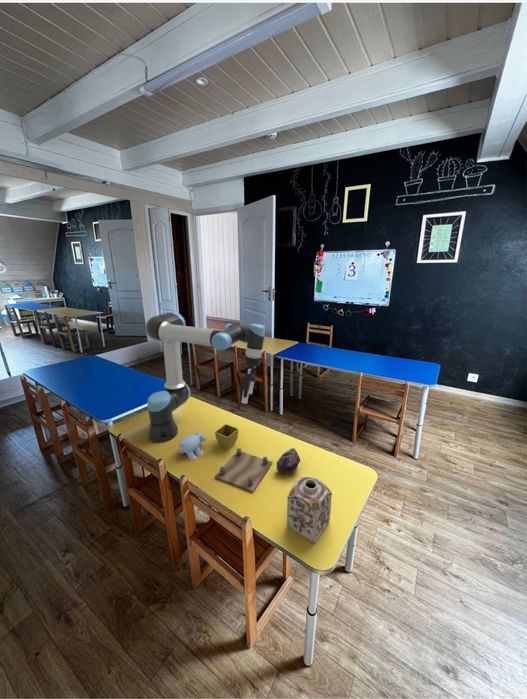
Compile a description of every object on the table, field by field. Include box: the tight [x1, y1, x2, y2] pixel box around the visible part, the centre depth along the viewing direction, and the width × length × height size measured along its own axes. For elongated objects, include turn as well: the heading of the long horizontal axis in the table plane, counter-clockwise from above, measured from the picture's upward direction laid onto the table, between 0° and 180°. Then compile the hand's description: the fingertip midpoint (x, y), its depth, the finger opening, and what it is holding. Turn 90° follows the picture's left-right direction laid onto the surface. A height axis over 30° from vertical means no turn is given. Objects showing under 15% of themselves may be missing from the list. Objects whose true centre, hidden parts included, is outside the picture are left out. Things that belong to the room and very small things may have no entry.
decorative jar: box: [286, 476, 333, 544], centre depth 99 cm, size 12×12×18 cm
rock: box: [276, 447, 301, 475], centre depth 127 cm, size 12×9×10 cm
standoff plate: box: [214, 447, 273, 494], centre depth 127 cm, size 19×19×4 cm
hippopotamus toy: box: [179, 432, 207, 461], centre depth 139 cm, size 11×15×10 cm
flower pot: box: [214, 423, 239, 450], centre depth 143 cm, size 9×9×9 cm
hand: (247, 398), depth 138 cm, fingers open, 13 cm apart
